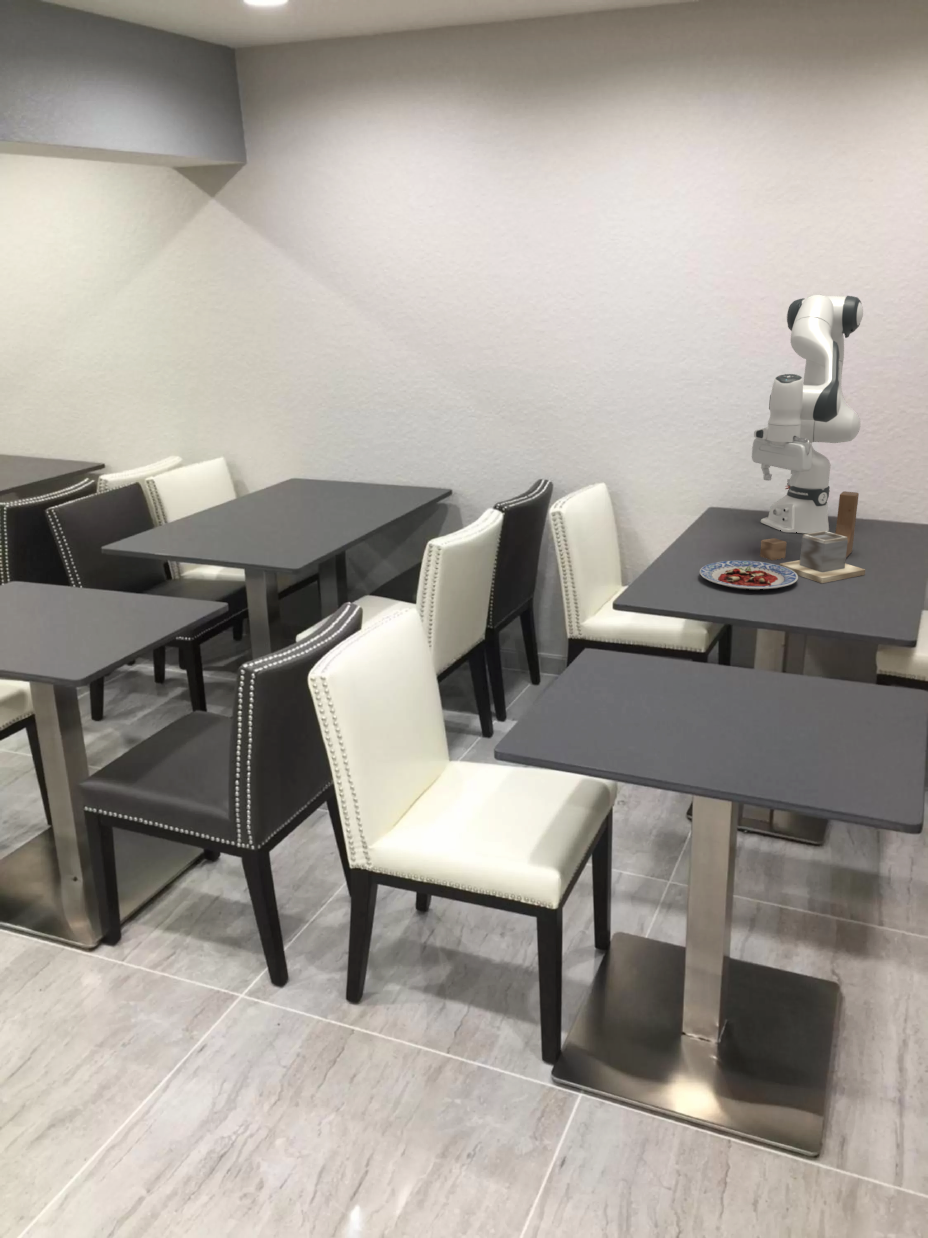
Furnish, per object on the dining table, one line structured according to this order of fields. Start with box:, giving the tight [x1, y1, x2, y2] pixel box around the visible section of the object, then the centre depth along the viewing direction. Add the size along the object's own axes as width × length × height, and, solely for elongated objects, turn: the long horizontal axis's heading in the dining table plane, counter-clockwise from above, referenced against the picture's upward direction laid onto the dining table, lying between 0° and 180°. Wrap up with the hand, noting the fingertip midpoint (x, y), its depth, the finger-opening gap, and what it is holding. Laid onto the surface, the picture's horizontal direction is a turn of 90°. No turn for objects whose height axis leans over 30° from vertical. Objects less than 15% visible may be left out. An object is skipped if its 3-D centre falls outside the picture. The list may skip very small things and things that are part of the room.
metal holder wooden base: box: [778, 531, 866, 584], centre depth 279 cm, size 16×16×10 cm
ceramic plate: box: [699, 560, 799, 591], centre depth 274 cm, size 26×26×3 cm
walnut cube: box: [759, 537, 788, 561], centre depth 295 cm, size 5×5×5 cm
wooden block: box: [834, 490, 860, 559], centre depth 294 cm, size 9×4×18 cm, turn 148°
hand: (778, 482), depth 288 cm, fingers open, 8 cm apart
